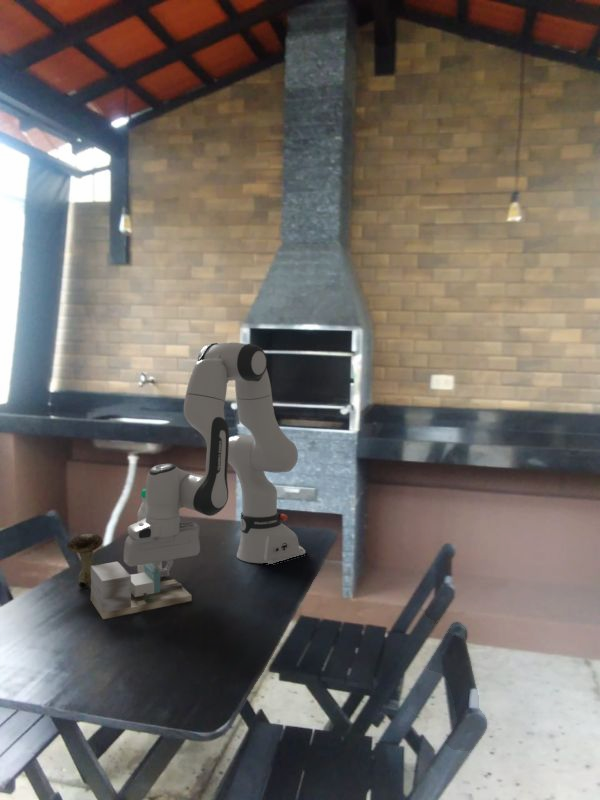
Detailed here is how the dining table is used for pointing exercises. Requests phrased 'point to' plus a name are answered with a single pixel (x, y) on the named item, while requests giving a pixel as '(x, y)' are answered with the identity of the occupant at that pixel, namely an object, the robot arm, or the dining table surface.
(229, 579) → the dining table surface
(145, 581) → the block with teal panel
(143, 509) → the water bottle
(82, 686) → the dining table surface
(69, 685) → the dining table surface
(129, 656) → the dining table surface
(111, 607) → the frame
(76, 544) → the mushroom
